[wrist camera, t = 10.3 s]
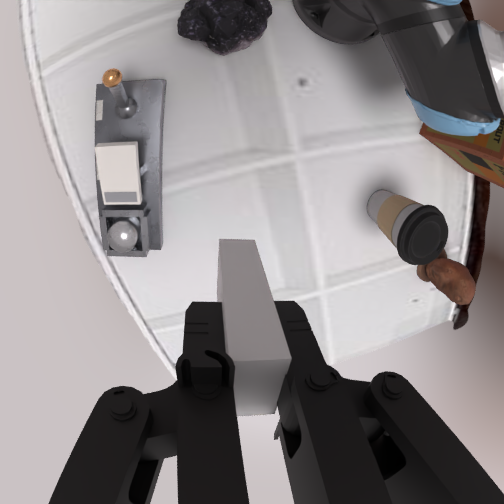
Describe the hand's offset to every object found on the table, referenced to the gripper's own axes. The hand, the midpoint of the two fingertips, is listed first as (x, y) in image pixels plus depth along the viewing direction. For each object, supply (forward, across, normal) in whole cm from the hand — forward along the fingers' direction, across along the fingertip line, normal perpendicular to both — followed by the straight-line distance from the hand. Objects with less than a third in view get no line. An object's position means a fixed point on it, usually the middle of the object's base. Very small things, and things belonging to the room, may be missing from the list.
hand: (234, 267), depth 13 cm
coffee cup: (+33, +29, -6) cm, 44 cm away
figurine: (+33, +48, -18) cm, 61 cm away
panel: (+32, -14, -2) cm, 35 cm away
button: (+29, -13, -11) cm, 34 cm away
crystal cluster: (+33, -1, +22) cm, 39 cm away
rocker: (+27, -14, -2) cm, 30 cm away
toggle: (+29, -14, +7) cm, 33 cm away
